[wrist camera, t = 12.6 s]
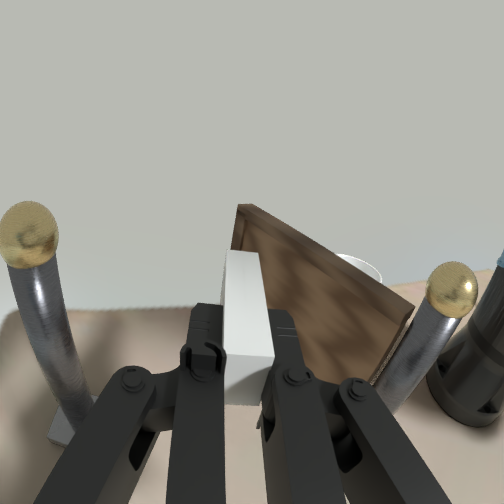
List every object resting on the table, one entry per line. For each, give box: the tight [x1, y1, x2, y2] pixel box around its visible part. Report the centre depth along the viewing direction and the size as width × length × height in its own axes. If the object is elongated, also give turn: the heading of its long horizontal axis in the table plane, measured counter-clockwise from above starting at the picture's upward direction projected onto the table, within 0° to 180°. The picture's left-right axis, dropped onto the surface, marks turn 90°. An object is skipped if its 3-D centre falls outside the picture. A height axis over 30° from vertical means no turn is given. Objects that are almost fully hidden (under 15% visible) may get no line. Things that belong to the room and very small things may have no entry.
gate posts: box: [0, 201, 478, 448], centre depth 17 cm, size 30×6×20 cm, turn 93°
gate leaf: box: [230, 204, 415, 385], centre depth 27 cm, size 20×2×14 cm, turn 35°
